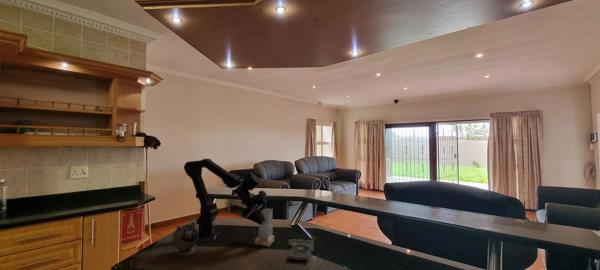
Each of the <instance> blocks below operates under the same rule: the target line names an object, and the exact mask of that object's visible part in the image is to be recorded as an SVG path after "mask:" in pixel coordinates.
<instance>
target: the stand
mask: <svg viewBox="0 0 600 270" xmlns="http://www.w3.org/2000/svg"><path fill="white" fill-rule="evenodd" d="M258 237H259V235H258V236H257V237H256V238H255V239H254V245H258V246H264V247H270V246H271V245H272V243H274V242H275V235H273V234H272V237H271V238H270V239H269V240H265V239H258Z"/></svg>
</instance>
